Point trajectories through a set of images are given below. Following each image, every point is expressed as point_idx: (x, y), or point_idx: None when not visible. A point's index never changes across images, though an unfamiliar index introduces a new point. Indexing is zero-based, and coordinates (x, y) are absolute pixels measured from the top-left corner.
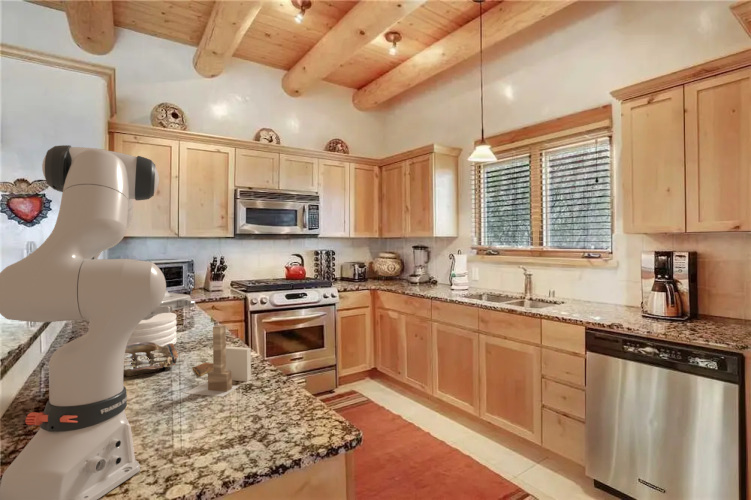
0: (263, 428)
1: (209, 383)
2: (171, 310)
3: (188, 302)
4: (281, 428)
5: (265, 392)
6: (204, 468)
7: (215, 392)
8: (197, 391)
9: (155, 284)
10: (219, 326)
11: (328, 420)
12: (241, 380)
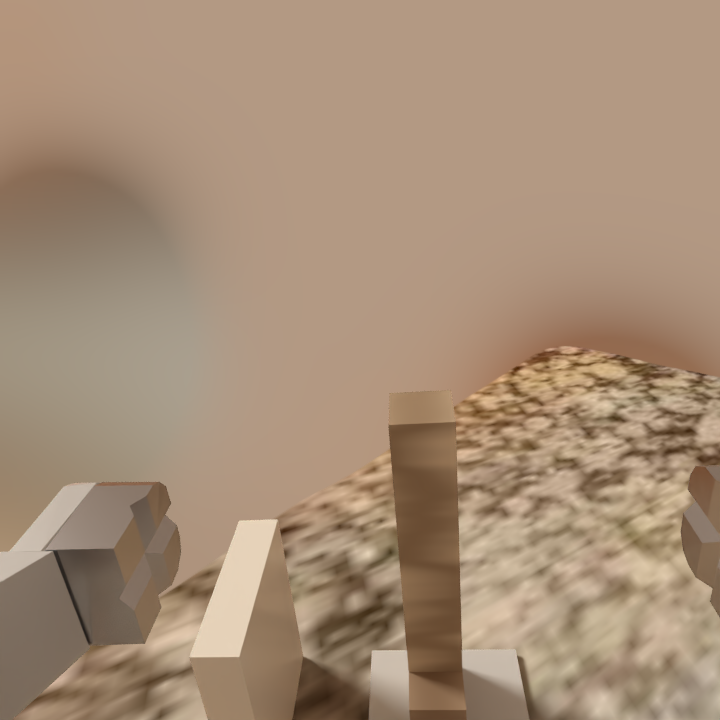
0: (637, 447)
1: None
2: (706, 521)
3: (133, 542)
4: (611, 423)
5: None
6: None
7: (486, 713)
8: None
9: None
10: (431, 401)
11: (522, 381)
12: (297, 680)
